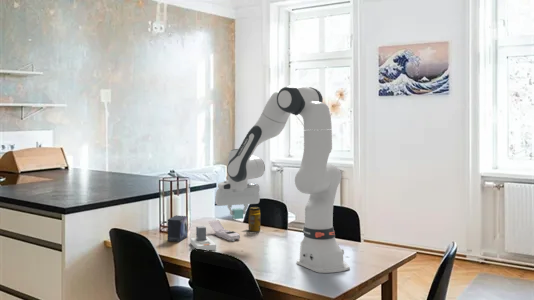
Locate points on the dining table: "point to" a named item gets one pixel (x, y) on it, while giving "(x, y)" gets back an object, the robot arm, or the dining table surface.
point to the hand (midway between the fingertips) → (237, 214)
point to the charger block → (200, 233)
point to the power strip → (203, 244)
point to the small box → (177, 228)
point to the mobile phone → (223, 231)
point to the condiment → (254, 220)
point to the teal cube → (238, 213)
